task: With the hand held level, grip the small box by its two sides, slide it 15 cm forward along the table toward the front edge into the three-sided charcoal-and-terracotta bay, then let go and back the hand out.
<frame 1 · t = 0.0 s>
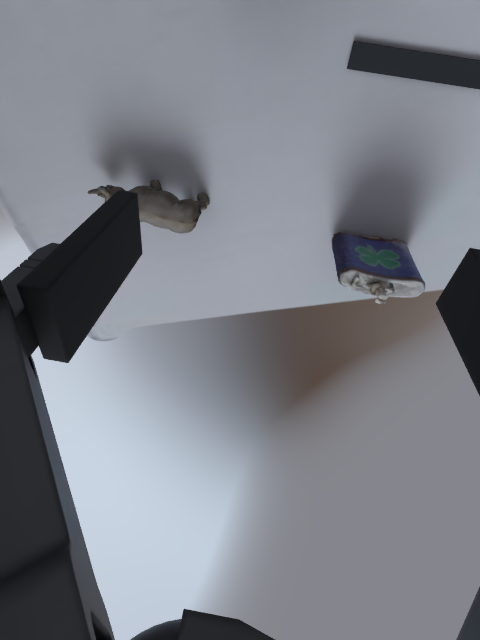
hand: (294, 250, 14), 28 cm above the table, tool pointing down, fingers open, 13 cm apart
flask: (367, 244, 44), on the table
rhino figurine: (154, 193, 43), on the table
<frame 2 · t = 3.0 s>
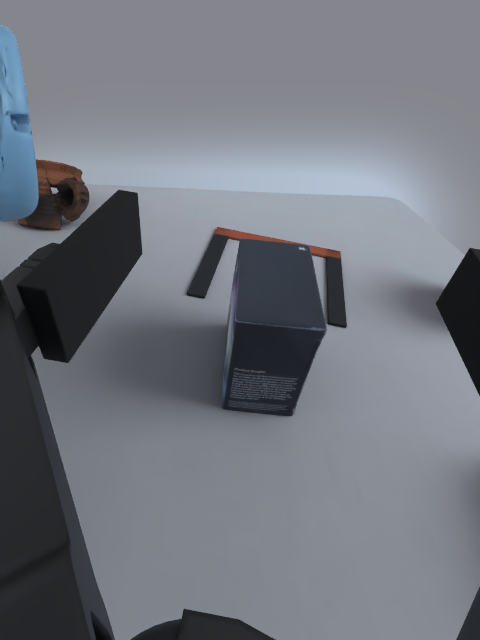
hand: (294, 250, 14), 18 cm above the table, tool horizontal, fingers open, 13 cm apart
bay: (272, 271, 45), on the table
pottery mug: (60, 217, 48), on the table
small box: (256, 366, 33), on the table
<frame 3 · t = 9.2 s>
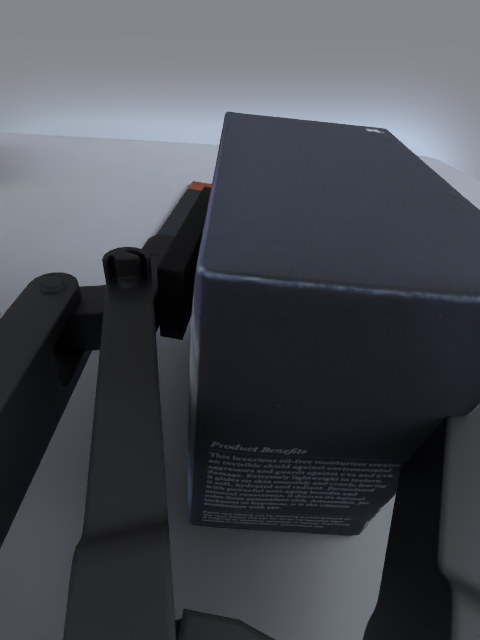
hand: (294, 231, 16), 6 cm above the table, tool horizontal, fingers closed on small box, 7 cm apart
bay: (280, 237, 28), on the table
small box: (265, 406, 16), on the table, touching gripper
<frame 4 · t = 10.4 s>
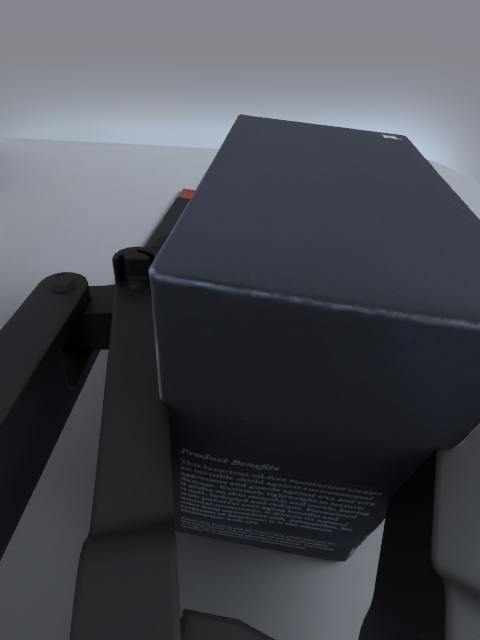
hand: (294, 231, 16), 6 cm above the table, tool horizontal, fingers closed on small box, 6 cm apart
bay: (275, 250, 26), on the table
small box: (264, 415, 16), on the table, touching gripper
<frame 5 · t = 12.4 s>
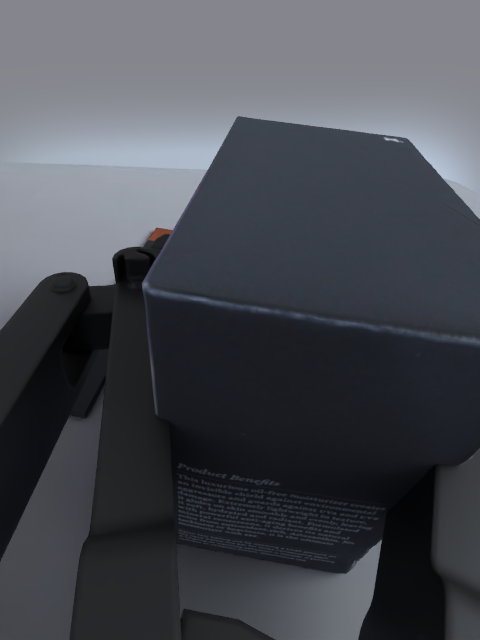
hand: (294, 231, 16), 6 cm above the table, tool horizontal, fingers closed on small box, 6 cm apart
bay: (268, 319, 20), on the table
small box: (263, 422, 15), on the table, touching gripper
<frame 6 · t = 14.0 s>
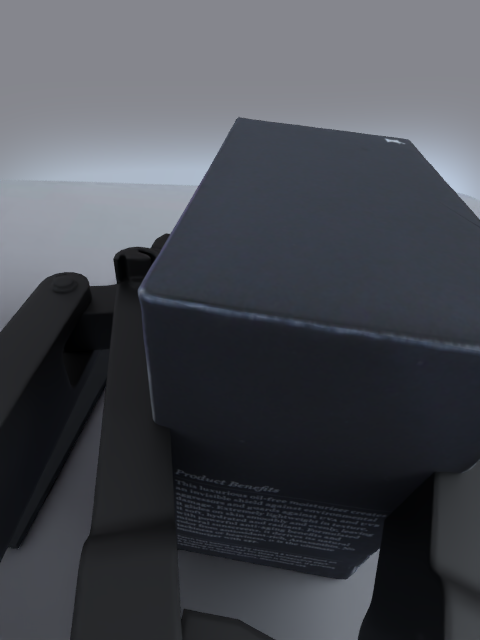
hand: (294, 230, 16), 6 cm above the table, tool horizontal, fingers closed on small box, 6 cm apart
bay: (264, 384, 17), on the table
small box: (263, 425, 15), on the table, touching gripper
when the fingers open (6 cm above the table, at t = 14.1 s): small box stays where it is, on the table.
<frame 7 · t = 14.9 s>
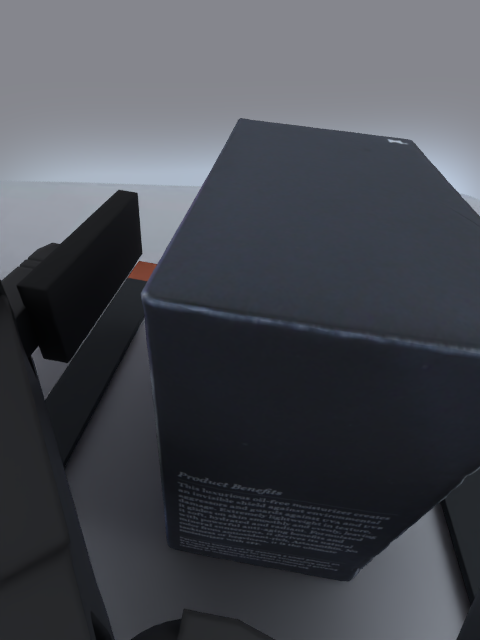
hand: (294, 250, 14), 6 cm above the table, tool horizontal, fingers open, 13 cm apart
bay: (266, 385, 17), on the table
small box: (265, 426, 15), on the table
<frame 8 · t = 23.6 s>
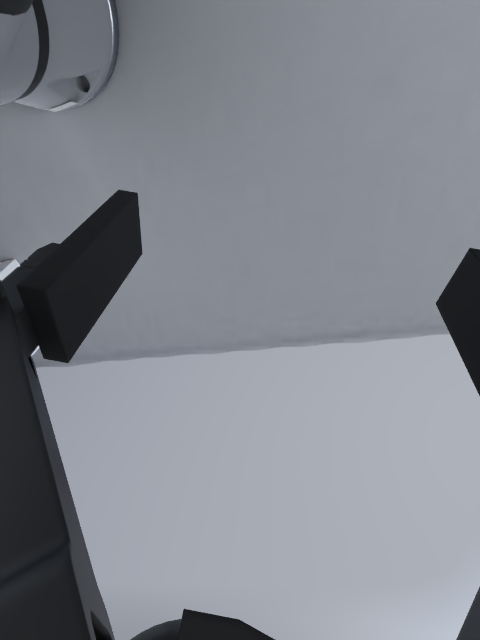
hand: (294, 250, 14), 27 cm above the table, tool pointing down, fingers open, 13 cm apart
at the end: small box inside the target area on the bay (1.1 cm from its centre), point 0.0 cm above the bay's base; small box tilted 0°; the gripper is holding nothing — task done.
